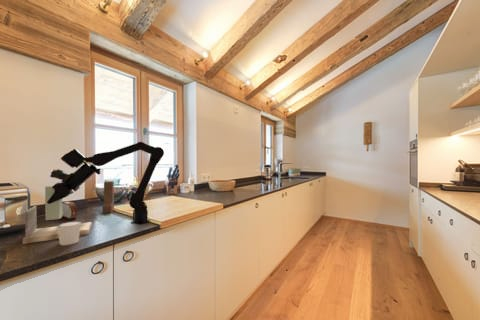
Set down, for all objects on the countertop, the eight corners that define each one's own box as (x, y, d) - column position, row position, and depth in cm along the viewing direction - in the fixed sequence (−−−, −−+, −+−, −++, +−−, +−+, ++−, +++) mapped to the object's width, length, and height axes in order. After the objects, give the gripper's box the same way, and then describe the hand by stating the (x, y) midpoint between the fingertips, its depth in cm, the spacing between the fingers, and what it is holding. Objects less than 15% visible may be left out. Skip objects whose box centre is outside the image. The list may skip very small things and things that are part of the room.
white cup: (54, 247, 75) (54, 228, 75) (61, 240, 81) (61, 222, 81) (77, 244, 78) (77, 225, 78) (83, 237, 84) (82, 220, 84)
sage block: (62, 216, 92) (61, 184, 92) (59, 218, 88) (59, 185, 88) (48, 217, 90) (48, 185, 90) (45, 220, 86) (45, 186, 86)
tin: (78, 218, 110) (77, 203, 110) (70, 220, 107) (70, 204, 107) (66, 214, 118) (66, 200, 118) (59, 216, 115) (59, 201, 115)
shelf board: (91, 226, 98) (91, 200, 98) (88, 234, 88) (88, 205, 88) (33, 233, 88) (33, 205, 88) (22, 244, 78) (22, 212, 78)
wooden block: (111, 213, 121) (111, 182, 121) (102, 214, 119) (102, 182, 119) (113, 209, 129) (113, 180, 129) (105, 210, 128) (105, 181, 127)
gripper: (70, 162, 99) (40, 187, 94) (58, 163, 82) (20, 193, 77) (91, 177, 103) (62, 202, 98) (83, 181, 86) (48, 211, 81)
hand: (49, 202), depth 88 cm, fingers closed on sage block, 4 cm apart
